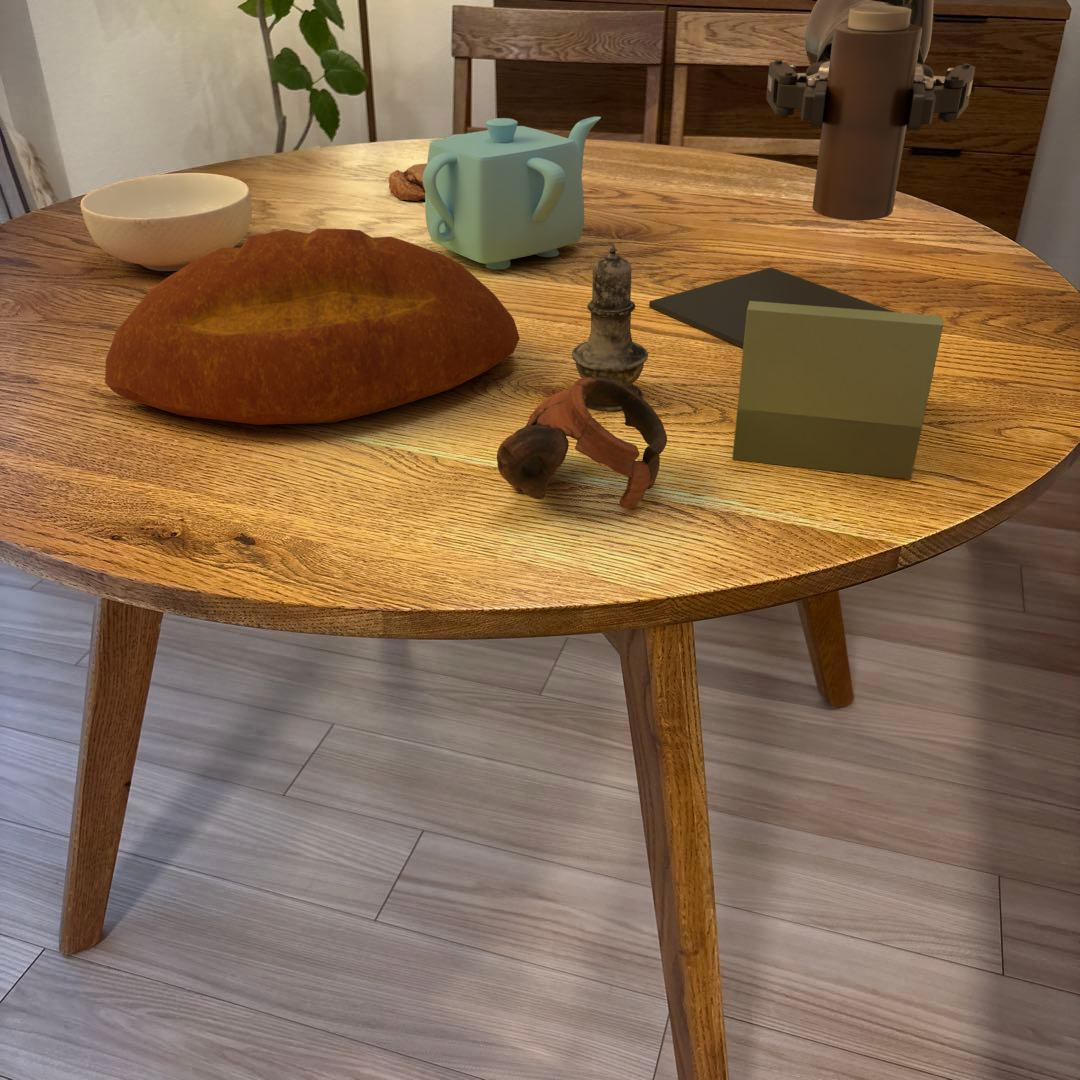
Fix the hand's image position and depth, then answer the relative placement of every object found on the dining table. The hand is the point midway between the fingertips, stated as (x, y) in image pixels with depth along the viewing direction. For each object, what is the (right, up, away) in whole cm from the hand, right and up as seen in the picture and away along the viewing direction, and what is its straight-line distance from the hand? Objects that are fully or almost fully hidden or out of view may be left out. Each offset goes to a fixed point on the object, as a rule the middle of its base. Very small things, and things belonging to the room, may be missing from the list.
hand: (867, 112), depth 64 cm
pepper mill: (+1, -4, +6) cm, 7 cm away
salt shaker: (-15, -15, +18) cm, 28 cm away
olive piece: (+1, -18, +12) cm, 22 cm away
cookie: (-34, +18, +69) cm, 79 cm away
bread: (-38, -14, +21) cm, 45 cm away
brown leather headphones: (-18, -23, +6) cm, 30 cm away
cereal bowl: (-59, +4, +48) cm, 76 cm away
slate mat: (+1, -5, +32) cm, 33 cm away
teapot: (-22, +5, +49) cm, 54 cm away
